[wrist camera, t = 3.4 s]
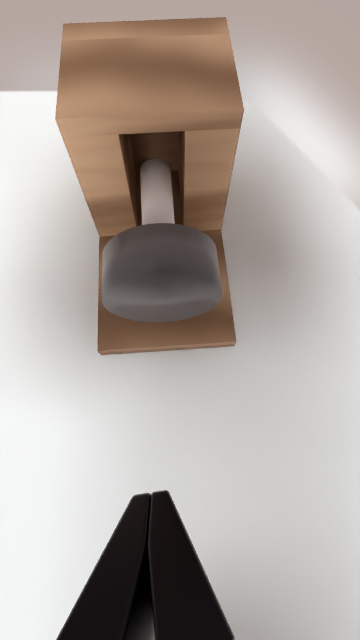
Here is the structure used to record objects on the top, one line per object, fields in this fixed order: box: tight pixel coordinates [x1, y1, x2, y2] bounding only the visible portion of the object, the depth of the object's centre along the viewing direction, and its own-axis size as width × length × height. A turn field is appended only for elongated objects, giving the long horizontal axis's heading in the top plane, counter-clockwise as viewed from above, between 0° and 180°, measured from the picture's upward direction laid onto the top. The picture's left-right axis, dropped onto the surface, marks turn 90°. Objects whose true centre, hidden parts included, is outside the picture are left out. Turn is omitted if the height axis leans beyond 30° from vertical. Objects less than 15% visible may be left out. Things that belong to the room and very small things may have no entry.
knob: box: [102, 159, 222, 322], centre depth 18 cm, size 8×6×6 cm
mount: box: [55, 17, 244, 355], centre depth 21 cm, size 16×9×10 cm, turn 4°
